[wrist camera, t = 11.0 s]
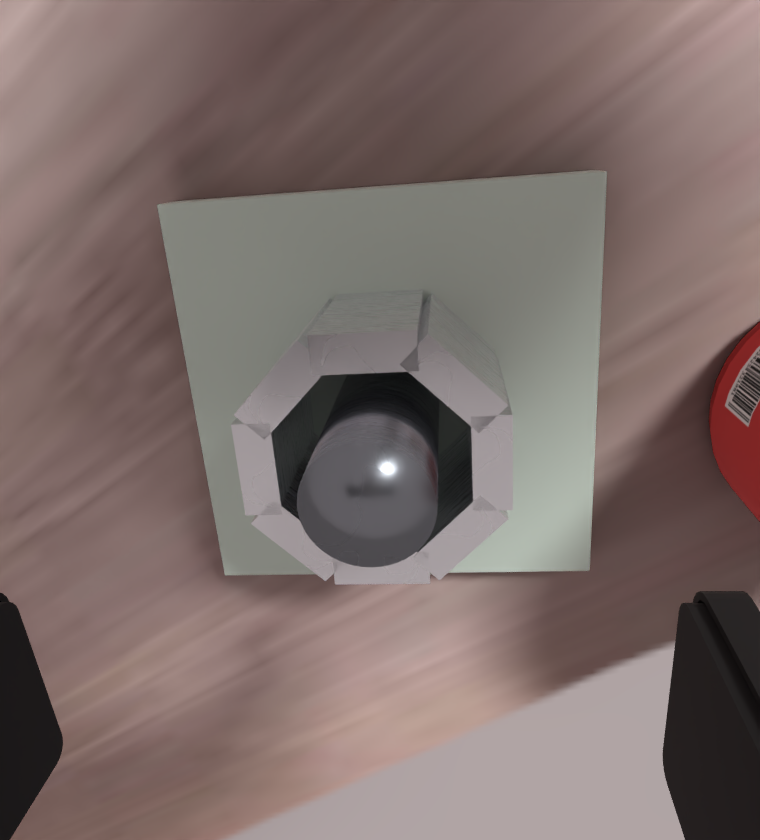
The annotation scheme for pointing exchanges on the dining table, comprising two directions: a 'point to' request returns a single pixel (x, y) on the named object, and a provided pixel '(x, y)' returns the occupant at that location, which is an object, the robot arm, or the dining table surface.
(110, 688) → the dining table surface
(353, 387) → the steel post
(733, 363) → the canned food
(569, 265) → the green board
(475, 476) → the metal ring
